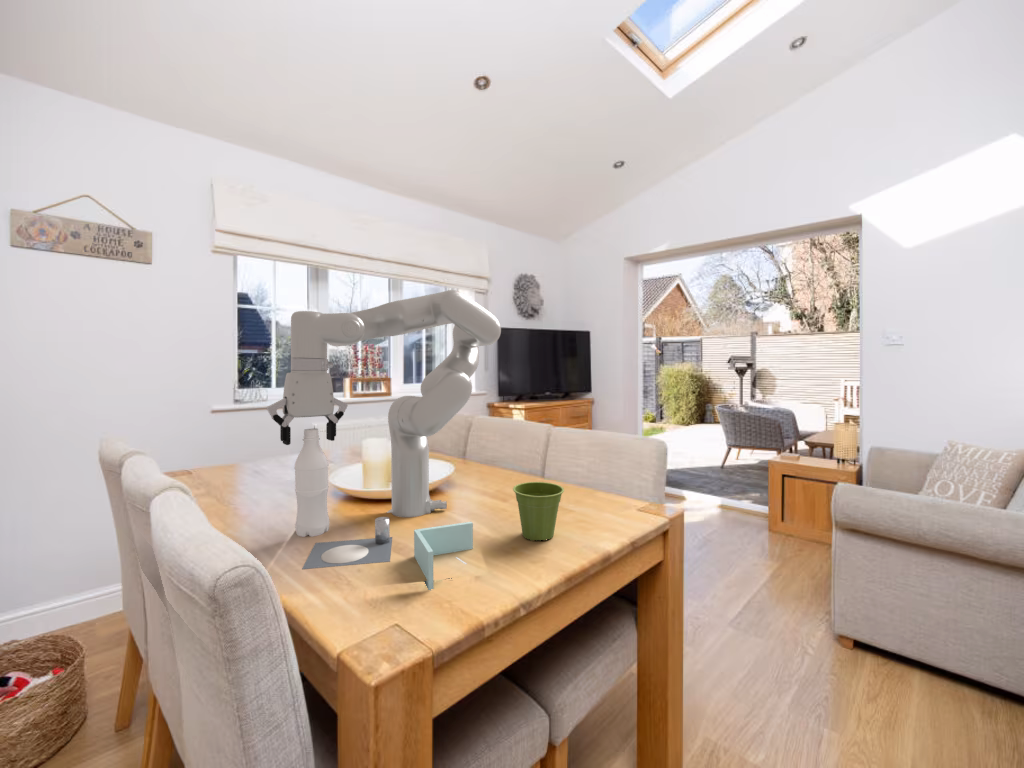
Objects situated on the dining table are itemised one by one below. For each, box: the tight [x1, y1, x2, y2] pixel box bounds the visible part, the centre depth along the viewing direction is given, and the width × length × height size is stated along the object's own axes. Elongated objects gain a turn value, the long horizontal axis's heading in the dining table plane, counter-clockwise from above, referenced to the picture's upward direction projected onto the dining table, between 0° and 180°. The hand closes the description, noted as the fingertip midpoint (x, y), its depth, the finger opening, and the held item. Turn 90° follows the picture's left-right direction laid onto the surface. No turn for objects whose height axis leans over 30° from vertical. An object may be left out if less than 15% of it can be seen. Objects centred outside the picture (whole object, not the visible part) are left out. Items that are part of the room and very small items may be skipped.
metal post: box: [374, 516, 391, 545], centre depth 100 cm, size 3×3×5 cm
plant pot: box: [512, 481, 565, 541], centre depth 107 cm, size 12×12×11 cm
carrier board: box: [301, 536, 393, 570], centre depth 95 cm, size 16×13×2 cm
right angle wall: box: [413, 521, 474, 591], centre depth 89 cm, size 12×12×8 cm
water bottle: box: [293, 428, 330, 538], centre depth 105 cm, size 7×7×25 cm
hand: (309, 442), depth 105 cm, fingers open, 9 cm apart
